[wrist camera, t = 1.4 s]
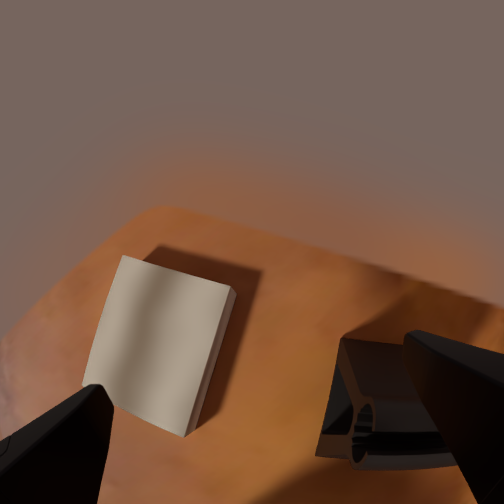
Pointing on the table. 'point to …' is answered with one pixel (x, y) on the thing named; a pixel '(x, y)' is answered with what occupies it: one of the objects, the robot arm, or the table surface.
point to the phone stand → (378, 413)
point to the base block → (159, 343)
